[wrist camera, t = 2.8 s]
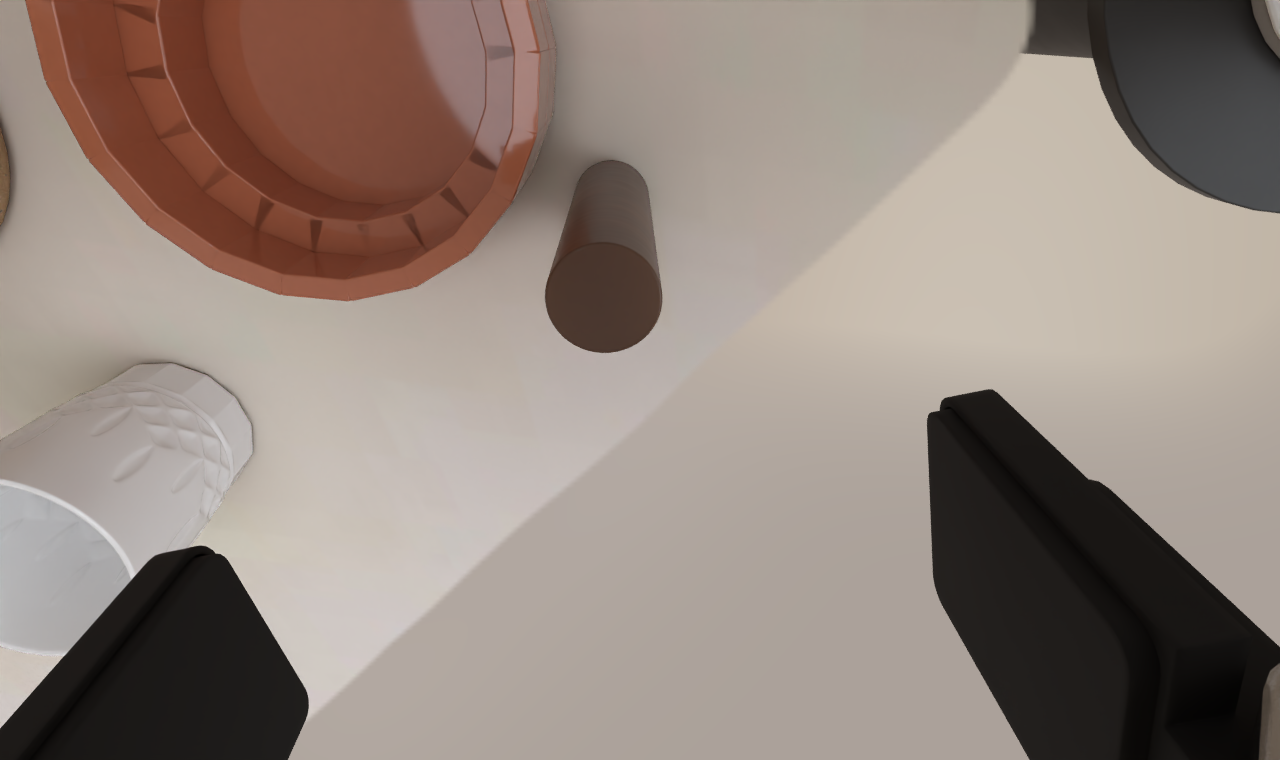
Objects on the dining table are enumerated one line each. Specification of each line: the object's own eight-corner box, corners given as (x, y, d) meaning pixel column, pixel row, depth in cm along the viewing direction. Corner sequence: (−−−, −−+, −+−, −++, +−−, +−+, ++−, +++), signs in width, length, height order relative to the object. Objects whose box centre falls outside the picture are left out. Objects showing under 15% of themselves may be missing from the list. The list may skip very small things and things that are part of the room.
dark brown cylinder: (640, 152, 28) (649, 230, 17) (655, 226, 29) (672, 341, 19) (566, 169, 28) (530, 256, 18) (584, 241, 30) (561, 363, 19)
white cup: (54, 373, 32) (-169, 508, 23) (213, 330, 31) (46, 452, 22) (151, 510, 35) (-10, 675, 26) (297, 475, 35) (182, 632, 26)
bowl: (489, -240, 23) (447, -322, 17) (596, 209, 29) (590, 250, 24) (69, -126, 24) (-93, -170, 18) (261, 282, 30) (183, 337, 25)
